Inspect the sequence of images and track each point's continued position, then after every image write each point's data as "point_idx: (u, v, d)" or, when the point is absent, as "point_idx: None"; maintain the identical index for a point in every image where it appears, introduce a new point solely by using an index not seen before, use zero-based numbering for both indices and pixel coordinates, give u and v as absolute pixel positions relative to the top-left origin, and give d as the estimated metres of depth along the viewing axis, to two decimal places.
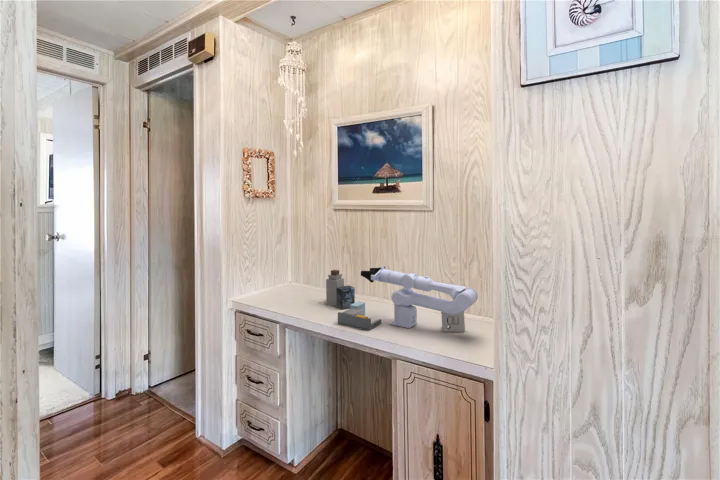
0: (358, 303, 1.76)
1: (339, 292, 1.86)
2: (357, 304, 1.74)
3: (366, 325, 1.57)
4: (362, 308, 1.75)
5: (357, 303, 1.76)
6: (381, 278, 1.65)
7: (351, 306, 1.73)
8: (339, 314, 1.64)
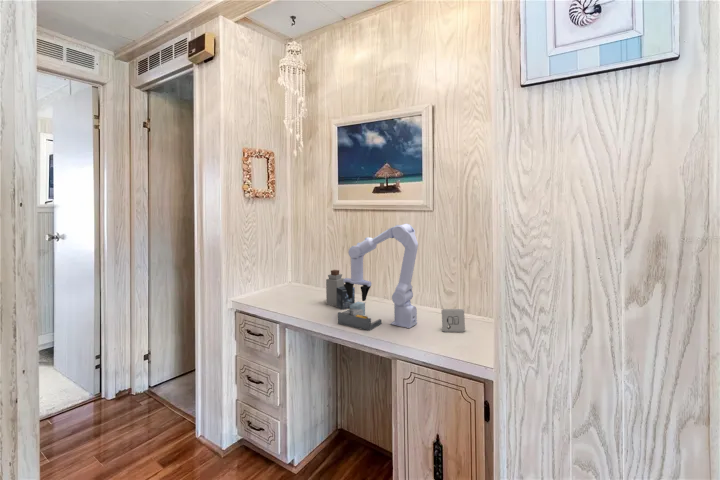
0: (358, 303, 1.76)
1: (339, 292, 1.86)
2: (357, 304, 1.74)
3: (366, 325, 1.57)
4: (362, 308, 1.75)
5: (357, 303, 1.76)
6: (362, 278, 1.73)
7: (351, 306, 1.73)
8: (339, 314, 1.64)
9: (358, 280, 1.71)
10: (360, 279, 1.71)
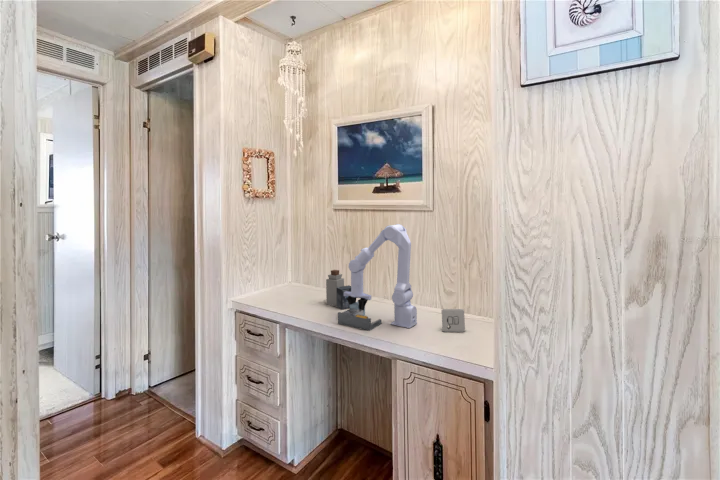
0: (358, 303, 1.76)
1: (339, 292, 1.86)
2: (357, 304, 1.74)
3: (366, 325, 1.57)
4: None
5: (357, 303, 1.76)
6: None
7: (351, 306, 1.73)
8: (339, 314, 1.64)
9: (358, 294, 1.72)
10: (360, 293, 1.72)
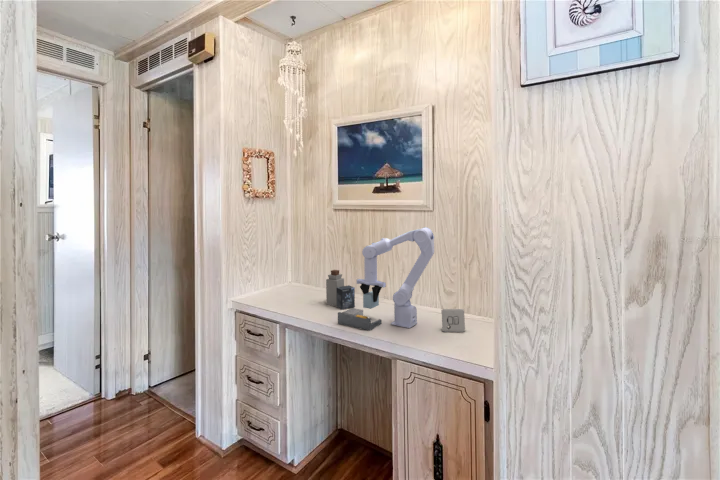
0: (372, 293, 1.69)
1: (339, 292, 1.86)
2: (371, 294, 1.68)
3: (366, 325, 1.57)
4: None
5: (371, 293, 1.69)
6: (376, 279, 1.67)
7: (365, 296, 1.67)
8: (339, 314, 1.64)
9: (372, 281, 1.65)
10: (374, 280, 1.66)
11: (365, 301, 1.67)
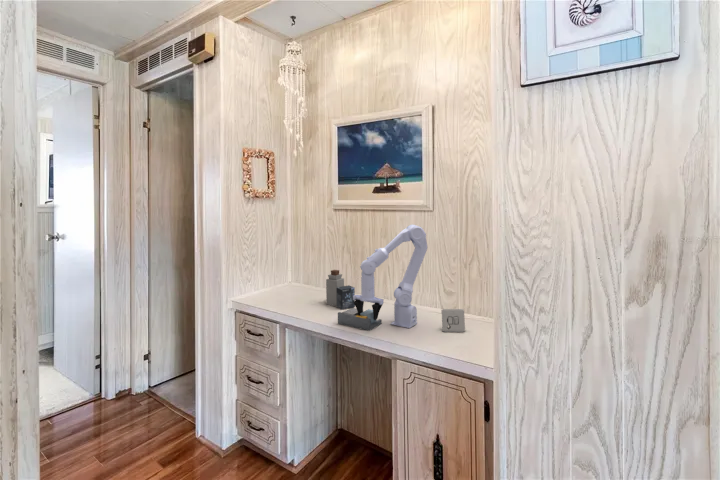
0: (369, 311, 1.63)
1: (339, 292, 1.86)
2: (368, 312, 1.62)
3: (366, 325, 1.57)
4: None
5: (368, 311, 1.63)
6: (374, 295, 1.61)
7: (362, 314, 1.60)
8: (339, 314, 1.64)
9: (369, 298, 1.59)
10: (371, 296, 1.59)
11: None
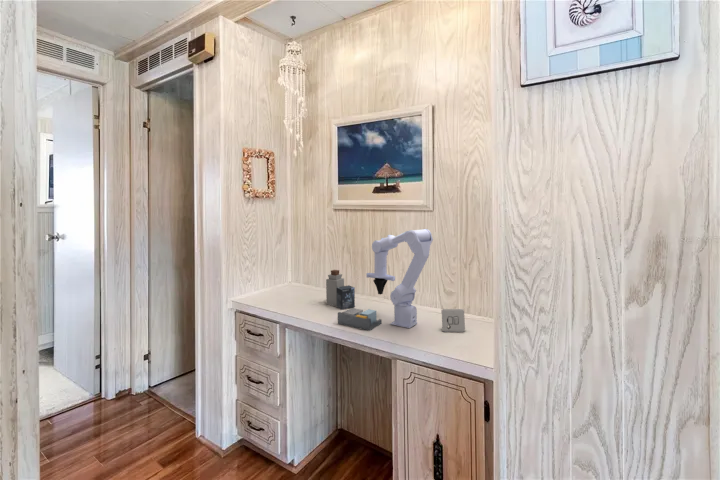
0: (369, 311, 1.63)
1: (339, 292, 1.86)
2: (368, 312, 1.62)
3: (366, 325, 1.57)
4: (373, 316, 1.63)
5: (368, 311, 1.63)
6: (386, 273, 1.73)
7: (362, 314, 1.60)
8: (339, 314, 1.64)
9: (382, 275, 1.71)
10: (384, 274, 1.72)
11: None
